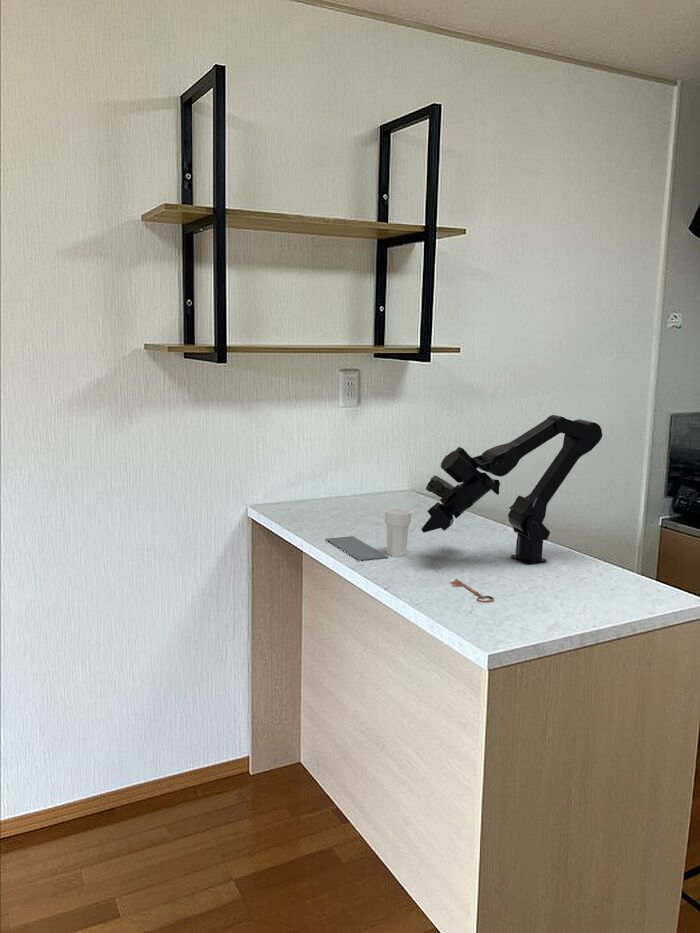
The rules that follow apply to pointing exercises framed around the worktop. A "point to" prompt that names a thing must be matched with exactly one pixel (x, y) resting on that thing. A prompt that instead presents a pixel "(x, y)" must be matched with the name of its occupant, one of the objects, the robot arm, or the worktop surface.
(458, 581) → the key
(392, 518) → the cup
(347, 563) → the worktop surface
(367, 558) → the mat
